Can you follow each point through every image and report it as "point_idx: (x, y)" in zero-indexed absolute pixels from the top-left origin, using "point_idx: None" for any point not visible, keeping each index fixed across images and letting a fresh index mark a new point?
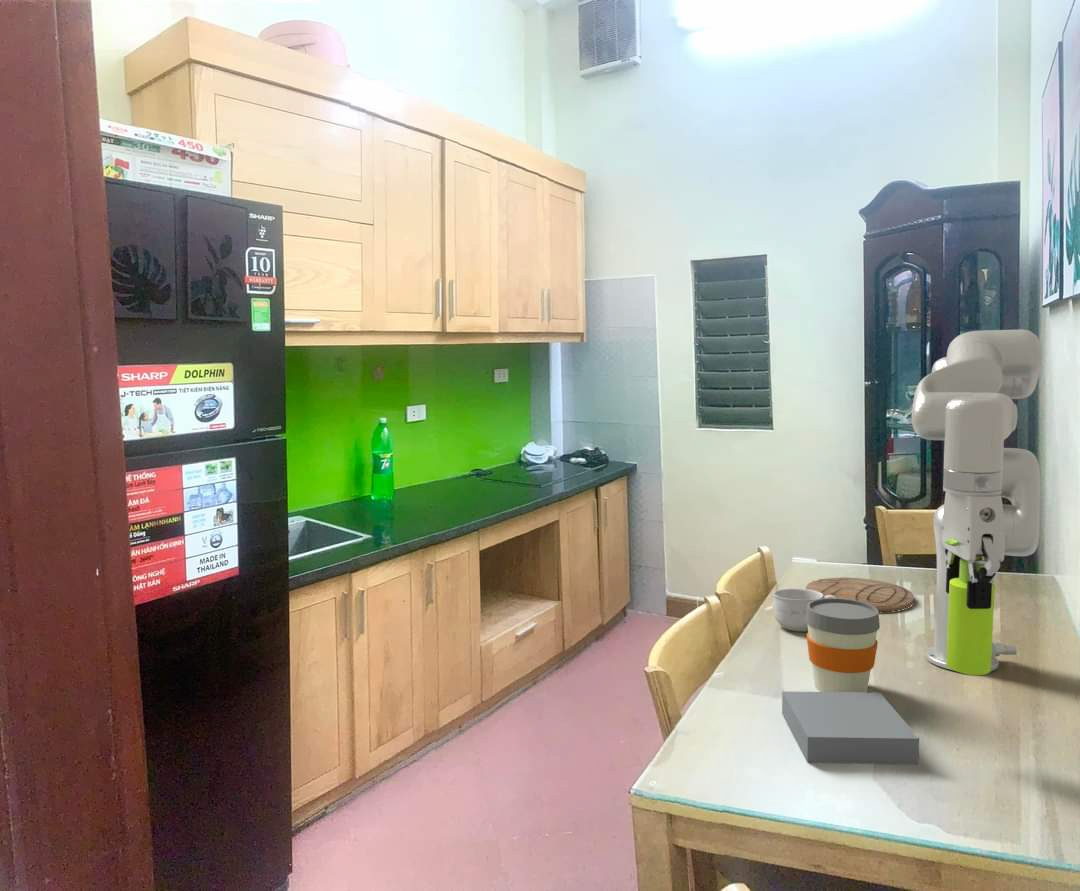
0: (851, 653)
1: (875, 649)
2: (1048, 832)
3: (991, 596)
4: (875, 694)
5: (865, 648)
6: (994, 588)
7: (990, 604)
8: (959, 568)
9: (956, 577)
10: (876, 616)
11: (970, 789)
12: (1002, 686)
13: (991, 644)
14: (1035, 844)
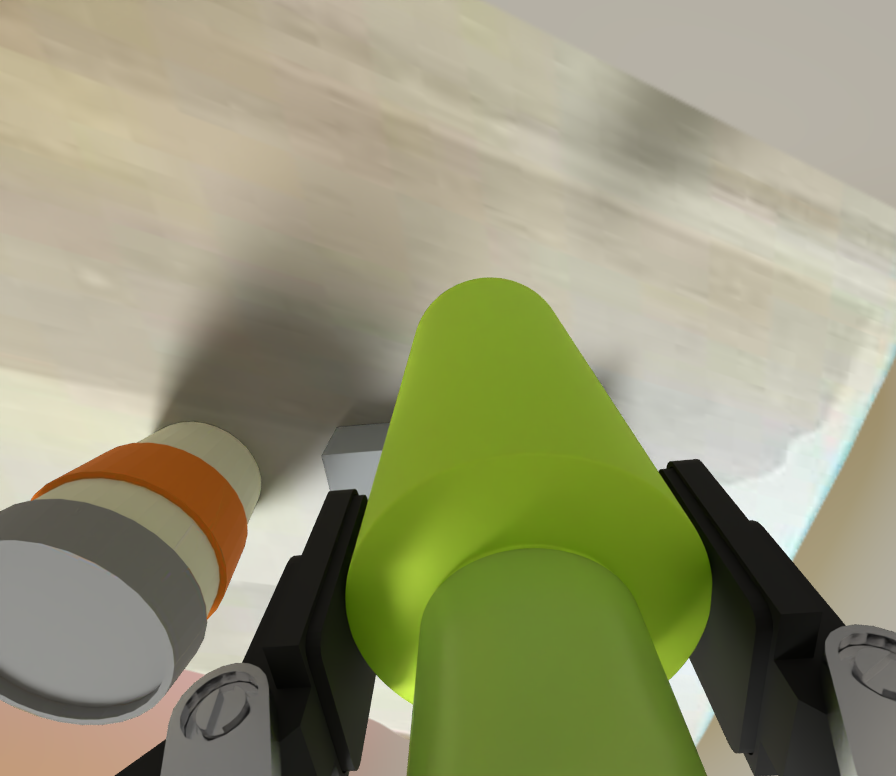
0: (225, 549)
1: (159, 478)
2: (841, 235)
3: (651, 466)
4: (336, 467)
5: (192, 519)
6: (619, 460)
7: (706, 472)
8: (323, 725)
9: (361, 666)
10: (89, 552)
11: (666, 334)
12: (21, 19)
13: (547, 318)
14: (878, 281)
